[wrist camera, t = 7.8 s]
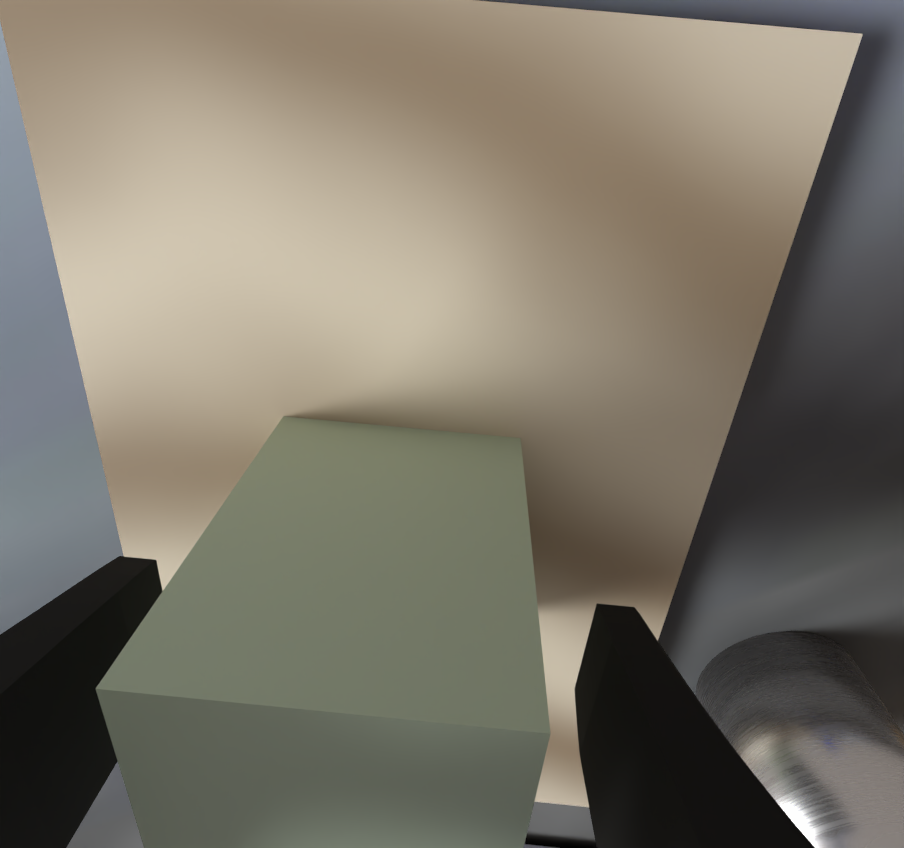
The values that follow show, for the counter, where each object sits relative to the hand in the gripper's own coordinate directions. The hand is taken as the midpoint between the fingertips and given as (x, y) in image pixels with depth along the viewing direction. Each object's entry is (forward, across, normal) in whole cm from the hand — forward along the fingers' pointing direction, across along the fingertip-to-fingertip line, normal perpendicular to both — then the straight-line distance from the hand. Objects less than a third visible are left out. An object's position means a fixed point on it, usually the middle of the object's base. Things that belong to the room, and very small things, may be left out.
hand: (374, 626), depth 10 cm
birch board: (+4, 0, 0) cm, 4 cm away
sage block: (+3, 0, 0) cm, 3 cm away
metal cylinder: (+4, -10, +5) cm, 12 cm away
